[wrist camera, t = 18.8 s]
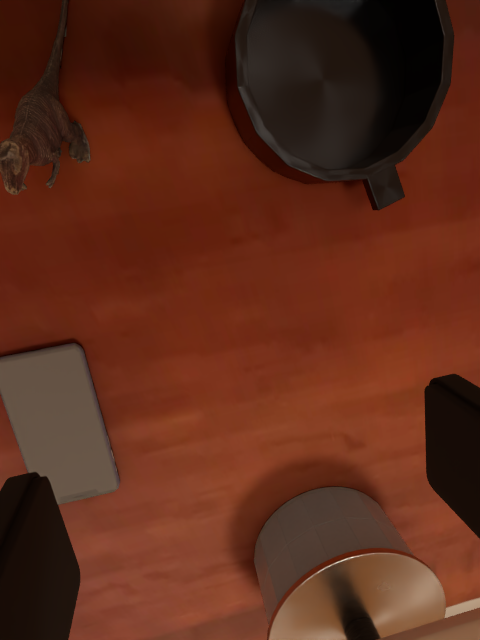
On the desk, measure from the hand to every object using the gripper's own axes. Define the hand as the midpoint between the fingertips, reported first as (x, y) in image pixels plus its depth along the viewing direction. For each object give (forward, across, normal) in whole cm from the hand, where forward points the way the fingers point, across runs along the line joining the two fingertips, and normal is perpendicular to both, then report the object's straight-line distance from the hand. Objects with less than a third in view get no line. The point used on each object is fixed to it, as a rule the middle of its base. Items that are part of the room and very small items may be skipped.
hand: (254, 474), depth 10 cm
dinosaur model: (+28, +6, -15) cm, 33 cm away
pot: (+27, -9, +32) cm, 43 cm away
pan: (+28, -14, -14) cm, 34 cm away
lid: (+18, -9, +32) cm, 38 cm away
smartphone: (+28, +14, +11) cm, 33 cm away
